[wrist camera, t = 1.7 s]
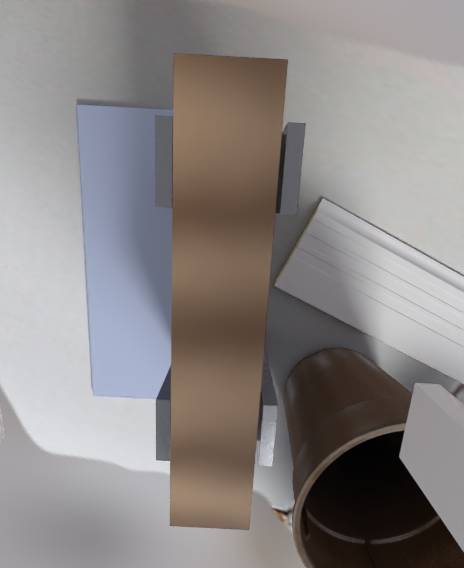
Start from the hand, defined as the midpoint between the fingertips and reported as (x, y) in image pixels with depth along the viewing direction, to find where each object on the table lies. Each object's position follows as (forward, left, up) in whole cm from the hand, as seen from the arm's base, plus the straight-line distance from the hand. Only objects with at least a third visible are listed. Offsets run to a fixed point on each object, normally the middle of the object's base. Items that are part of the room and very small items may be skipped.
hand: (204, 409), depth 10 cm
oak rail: (0, 0, -13) cm, 13 cm away
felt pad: (0, +10, -25) cm, 27 cm away
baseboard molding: (-2, -22, -26) cm, 34 cm away
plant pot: (-14, -14, -25) cm, 32 cm away
